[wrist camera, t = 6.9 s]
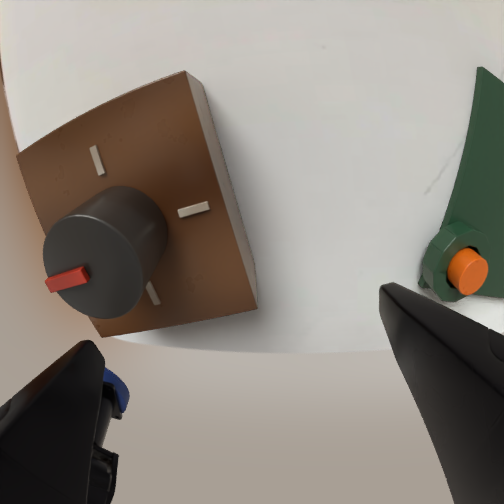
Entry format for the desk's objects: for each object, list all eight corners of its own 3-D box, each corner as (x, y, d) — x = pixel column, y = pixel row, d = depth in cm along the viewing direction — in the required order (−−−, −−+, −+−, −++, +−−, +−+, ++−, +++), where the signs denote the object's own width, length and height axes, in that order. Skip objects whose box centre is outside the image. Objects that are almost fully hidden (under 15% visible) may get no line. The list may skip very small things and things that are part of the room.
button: (465, 284, 19) (477, 296, 17) (441, 281, 19) (452, 293, 17) (480, 250, 18) (493, 261, 16) (456, 244, 17) (470, 255, 16)
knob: (148, 172, 12) (107, 200, 8) (181, 259, 14) (160, 314, 10) (72, 203, 13) (21, 238, 9) (107, 279, 14) (73, 330, 11)
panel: (255, 264, 20) (258, 311, 15) (125, 294, 21) (100, 339, 16) (201, 82, 15) (184, 69, 10) (62, 142, 16) (13, 156, 11)
